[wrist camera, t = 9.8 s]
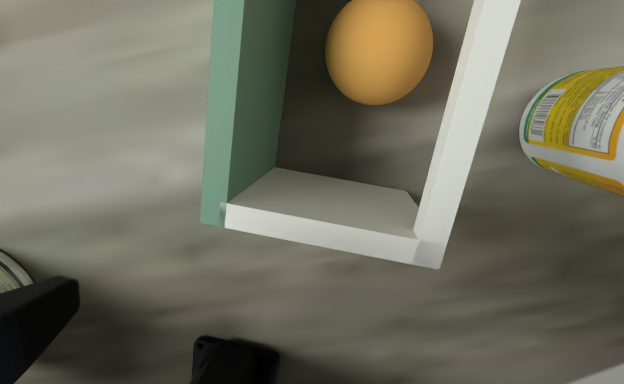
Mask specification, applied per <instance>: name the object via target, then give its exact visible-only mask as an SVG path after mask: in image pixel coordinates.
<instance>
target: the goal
mask: <svg viewBox="0 0 624 384" xmlns="http://www.w3.org/2000/svg"><path fill="white" fill-rule="evenodd" d="M520 1H521V0H474V3H473V7H472V11H471V14H470V18H469V22H468V26H467V30H466V33H465V37H464V41H463V45H462V48H461V52H460V56H459V60H458V63H457V67H456V71H455V75H454V78H453V82H452V86H451V90H450V93H449V97H448V101H447V105H446V108H445V112H444V116H443V120H442V123H441V127H440V131H439V135H438V138H437V142H436V146H435V150H434V153H433V157H432V161H431V165H430V168H429V172H428V176H427V180H426V184H425V187H424V191H423V195H422V199H421V202H420V206H419V207H418V206H417V205H416V203H415V202H414V201H413V199H412V198H411V197H410V195H409V194H408V193H407V191H404V190H399V189H393V188H388V187H382V186H377V185H371V184H365V183H360V182H354V181H349V180H343V179H338V178H332V177H327V176H321V175H315V174H310V173H304V172H299V171H293V170H288V169H282V168H277V167H275V164H276V156H277V148H278V140H279V133H280V125H281V117H282V109H283V101H284V93H285V86H286V78H287V70H288V62H289V54H290V47H291V39H292V31H293V23H294V15H295V8H296V0H214V10H213V25H212V41H211V57H210V72H209V88H208V104H207V119H206V135H205V150H204V166H203V182H202V197H201V213H200V223H203V224H208V225H213V226H219V227H224V228H229V229H234V230H239V231H244V232H249V233H254V234H259V235H264V236H269V237H275V238H280V239H285V240H290V241H295V242H300V243H305V244H310V245H315V246H320V247H326V248H331V249H336V250H341V251H346V252H351V253H356V254H361V255H366V256H371V257H376V258H382V259H387V260H392V261H397V262H402V263H407V264H412V265H417V266H422V267H427V268H433V269H438V270H439V269H440V266H441V263H442V259H443V256H444V253H445V249H446V246H447V243H448V239H449V236H450V233H451V229H452V226H453V223H454V220H455V216H456V213H457V210H458V206H459V203H460V200H461V196H462V193H463V190H464V186H465V183H466V180H467V177H468V173H469V170H470V167H471V163H472V160H473V157H474V153H475V150H476V147H477V143H478V140H479V137H480V134H481V130H482V127H483V124H484V120H485V117H486V114H487V110H488V107H489V104H490V100H491V97H492V94H493V91H494V87H495V84H496V81H497V77H498V74H499V71H500V67H501V64H502V61H503V57H504V54H505V51H506V48H507V44H508V41H509V38H510V34H511V31H512V28H513V24H514V21H515V18H516V14H517V11H518V8H519V5H520Z"/></svg>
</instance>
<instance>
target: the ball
mask: <svg viewBox="0 0 624 384" xmlns="http://www.w3.org/2000/svg"><path fill="white" fill-rule="evenodd" d="M432 51H433V33H432V28H431V24H430V21H429V19H428V17H427V15H426V13H425V11H424V10H423V8H422V7H421V6H420V5H419V4H418V3H417V2H416V1H415V0H351V1H350V2H349V3H348V4H346V5H345V6H344V7H343V8H342V10H341V11H340V12H339V13H338V15H337V16H336V18H335V19H334V21H333V23H332V25H331V27H330V30H329V33H328V36H327V41H326V51H325V55H326V64H327V68H328V71H329V74H330V77H331V78H332V80H333V82H334V84H335V85H336V86H337V88H338V89H339V90H340V91H341V92H342V93H343V94H344V95H345V96H347V97H348V98H350V99H352V100H353V101H356V102H358V103H361V104H366V105H383V104H388V103H391V102H394V101H396V100H398V99H400V98H402V97H403V96H405V95H406V94H408V93H409V92H410V91H411V90H412V89H413V88H414V87H415V86H416V85H417V84H418V83H419V82H420V80H421V79H422V77H423V76H424V74H425V73H426V71H427V68H428V66H429V63H430V60H431V56H432Z"/></svg>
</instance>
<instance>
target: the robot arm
mask: <svg viewBox="0 0 624 384" xmlns="http://www.w3.org/2000/svg"><path fill="white" fill-rule="evenodd" d="M79 307H80V292H79V283H78V281H77V280H76V279H74V278H71V277H67V276H64V275H59V276H55V277H52V278H49V279H46V280H42V281H39V282H36V283H33V284H29V285H26V286H23V287H19V288H16V289H13V290H10V291H6V292H3V293H0V384H14V383H15V382H16V381H17V380H18V379H19V378H20V377H21V376H22V374H23V373H24V372H25V371H26V370H27V369H28V368H29V367H30V366H31V365H32V364H33V363H34V362H35V360H36V359H37V358H38V357H39V356H40V355H41V353H42V352H43V351H44V350H45V349H46V348H47V346H48V345H49V344H50V343H51V342H52V341H53V339H54V338H55V337H56V336H57V335H58V334H59V332H60V331H61V330H62V329H63V328H64V327H65V325H66V324H67V323H68V322H69V321H70V320H71V318H72V317H73V316H74V315H75V314H76V312H77V311H78V309H79ZM200 343H201V344H200ZM202 344H203V345H202ZM271 359H273V360H275V361H272V360H271ZM279 363H280V357H279V355H278V354H277V353H274V352H270V351H265V350H261V349H256V348H252V347H247V346H243V345H238V344H234V343H229V342H225V341H220V340H216V339H211V338H207V337H198V338H197V340H196V341H195V343H194V351H193V366H192V380H191V381H190V383H189V384H276V381H277V375H278V369H279Z"/></svg>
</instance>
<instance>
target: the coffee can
mask: <svg viewBox="0 0 624 384" xmlns="http://www.w3.org/2000/svg"><path fill="white" fill-rule="evenodd" d="M33 283H34V282H33V281H32V279H31V278H30V276H29V275H28V274H27V273H26V272H25V270H24V269H23V268H22V267H21V266H20V265H19V264H18V263H16V262H15V261H14V260H13V259H11V258H10V257H9V256H8V255H6V254H4V253H2V252H0V293H3V292H6V291H10V290H13V289H16V288H19V287H23V286H26V285H29V284H33Z"/></svg>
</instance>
